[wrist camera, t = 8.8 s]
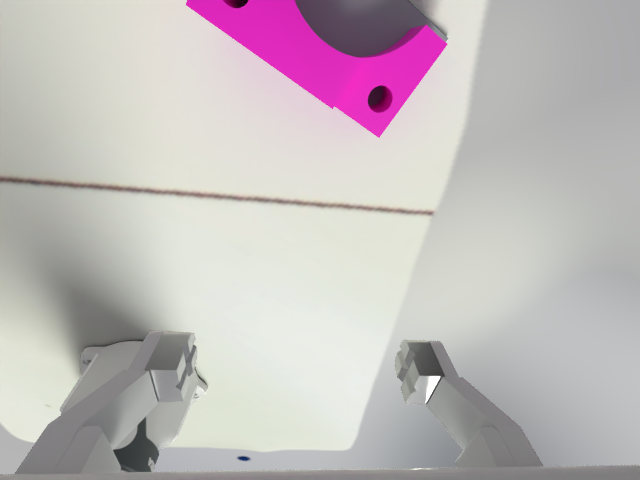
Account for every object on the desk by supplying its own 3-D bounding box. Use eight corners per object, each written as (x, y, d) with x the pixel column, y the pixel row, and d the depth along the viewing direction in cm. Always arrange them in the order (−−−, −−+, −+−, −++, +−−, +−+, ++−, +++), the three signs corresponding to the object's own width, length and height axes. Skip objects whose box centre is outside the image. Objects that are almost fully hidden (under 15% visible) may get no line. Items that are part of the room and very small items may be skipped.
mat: (382, 126, 27) (382, 126, 27) (243, 22, 23) (242, 21, 23) (446, 38, 24) (448, 38, 24) (296, -104, 20) (296, -106, 19)
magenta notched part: (185, 4, 17) (240, -165, 14) (216, 15, 23) (261, -106, 19) (385, 146, 22) (462, 43, 18) (371, 127, 27) (430, 45, 24)
